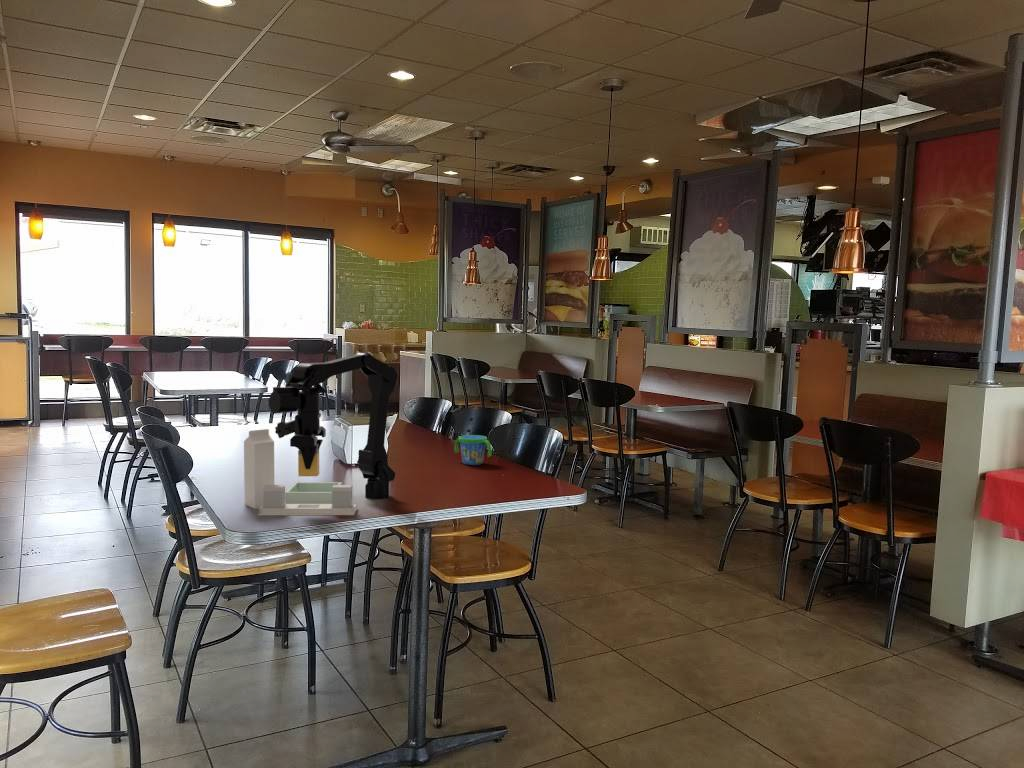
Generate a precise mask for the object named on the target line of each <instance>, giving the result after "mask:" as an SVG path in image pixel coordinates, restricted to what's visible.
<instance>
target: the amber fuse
mask: <svg viewBox="0 0 1024 768" xmlns="http://www.w3.org/2000/svg"><path fill="white" fill-rule="evenodd" d="M297 456H298V457H297V458H298V459H297V460H298V461H297V465H298V466H297V467H298V469H297V470H298V473H297V475H298V477H318V476H320V448H319V449H317V451H316V453H315V456H314V459H313V462H312V465H311V467H310V469H306V468H305V465H304V461H303V457H302V454H301V451H300V450H299V449H298V451H297Z"/></svg>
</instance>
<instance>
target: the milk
mask: <svg viewBox="0 0 1024 768" xmlns="http://www.w3.org/2000/svg"><path fill="white" fill-rule="evenodd" d="M243 468H244V469H243V470H244V471H243V475H244V476H243V477H244V479H243V480H244V481H243V482H244V484H243V485H244V486H243V487H244V505H245V506H247V507H250V508H253V509H258V508H259V507H260V506H261V505H263V487H264V486H265V485H275V440H274V439H273V438H272V437H271V435H270V430H269V429H268V428H265V429H255V430H254V429H253V430H249V431H248V437H246V438H245V440H244V441H243Z"/></svg>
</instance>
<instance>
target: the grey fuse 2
mask: <svg viewBox="0 0 1024 768" xmlns="http://www.w3.org/2000/svg"><path fill="white" fill-rule="evenodd" d="M352 504H353V484H342V485H333V487H332V508H352Z"/></svg>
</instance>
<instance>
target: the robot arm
mask: <svg viewBox="0 0 1024 768" xmlns="http://www.w3.org/2000/svg"><path fill="white" fill-rule="evenodd" d="M359 369H360V371H361V373H362V374H363V375H364V376H366V377H367V381H368V383H367V384H368V388H369V391H370V393H371V403H370V404H371V405H370V414H369V423H368V431H367V440H366V445H365V446H364V447H363V449H359V450H358V459H357V461H356V464H358V470H359V471H360V472H361V474H362V477H363V479H367V481H366V482H367V483H365V492H364V493H365V494H364V495H365V496H364V497H365V499H370V500H384V499H385V500H386V499H389V498H390V495H391V494H390V493H391V492H390V491H391V490H390V489H391V486H390V485H391V484H390V483H391V482H393V481H394V480H395V478H396V472H395V471H394V470H393V469H392V468H391V467H390V465H389V456H388V453H387V450H386V447H385V440H386V431H387V430H386V429H387V421H388V412H389V411H388V410H389V401H390V396H391V395H392V393H393V391H394V390H395V389H396V386H397V381H398V372H397V371H396V369H395V368H394V367H393V366H391V365H388V364H386V363H385V362H383V361H381V360H379V359H377V358H375V357H374V356H373V355H372V354H371V353H368V352H357V353H355V354H352V355H348V356H345V357H341V358H337V359H336V358H335V359H332V360H330V361H329V360H328V361H325V362H304V363H303V362H302V363H298V364H297V365H295V367H294V369H293V373H292V375H291V376H290V378H289V380H288V381H287V383H286V384H285V385H284V386H282V387H281V386H273V387H272V392H271V393H270V395H269V398H268V407H269V410H270V412H272V413H273V414H285V413H295V412H296V411H297V414H295V416H294V419H293V420H289V421H288V422H286V421H285V420H282V421H281V422H278V423H277V425H276V426H274V429H275V432H274V433H275V434H276V435H277V436H278V439H282V438H284V437H285V436H288V435H291V434H294V435H293V436H292V437H291V438H289V440H290V441H289V446H290V447H291V448H292V447H294V448H297V449H298V450H300V451H301V454H302V457H303V461H304V465H305V468H306V469H310V467H311V465H312V462H313V459H314V456H315V453H316V451H317V449H319V450H320V449H321V445H322V444H323V441H324V440H323V439H319V438H318V437H321V438H326V435H327V434H326V433H327V432H326V431H327V429H326V428H325V427H324V426H322V425H320V419H321V417H322V413H321V412H320V394H326V393H327V391H328V390H327V389H325V388H324V387H323V386H322V385H321V384H323V383H324V382H326V381H328V379H330V378H331V377H334V376H338V375H341V374H345V373H348V372H351V371H356V370H359Z"/></svg>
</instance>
